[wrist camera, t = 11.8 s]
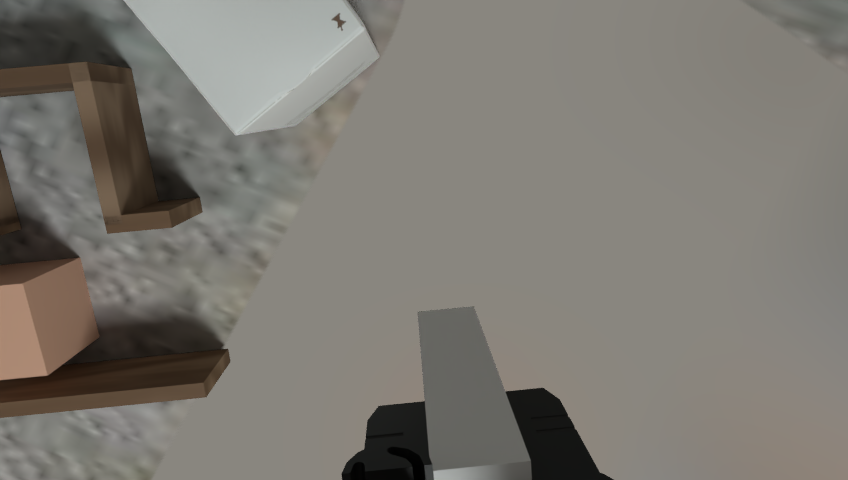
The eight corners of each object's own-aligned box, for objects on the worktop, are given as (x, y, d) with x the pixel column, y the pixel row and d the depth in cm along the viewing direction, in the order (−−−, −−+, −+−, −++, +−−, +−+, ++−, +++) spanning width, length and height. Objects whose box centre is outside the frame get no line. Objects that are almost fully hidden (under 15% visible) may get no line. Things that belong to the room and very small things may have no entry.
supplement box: (306, -46, 40) (252, -136, 25) (382, 57, 42) (372, 28, 27) (213, 33, 41) (109, -10, 26) (291, 130, 43) (235, 140, 28)
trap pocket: (-34, 83, 41) (-107, 78, 35) (131, 68, 41) (86, 61, 35) (4, 223, 43) (-58, 240, 38) (159, 208, 44) (122, 223, 38)
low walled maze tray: (-138, 228, 43) (-223, 247, 37) (199, 197, 44) (168, 210, 38) (-83, 392, 46) (-152, 432, 41) (230, 361, 47) (206, 397, 41)
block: (-6, 265, 44) (-80, 293, 37) (80, 257, 44) (22, 283, 38) (16, 344, 46) (-51, 385, 39) (100, 336, 46) (47, 375, 39)
